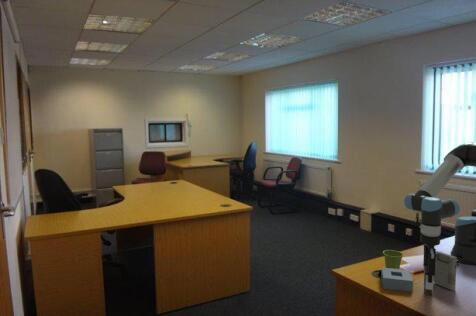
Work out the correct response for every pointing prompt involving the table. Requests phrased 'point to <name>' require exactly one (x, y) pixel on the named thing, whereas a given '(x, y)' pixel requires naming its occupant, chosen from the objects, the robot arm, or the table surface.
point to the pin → (427, 291)
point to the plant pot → (392, 259)
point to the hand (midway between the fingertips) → (428, 286)
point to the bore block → (396, 279)
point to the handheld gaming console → (445, 270)
